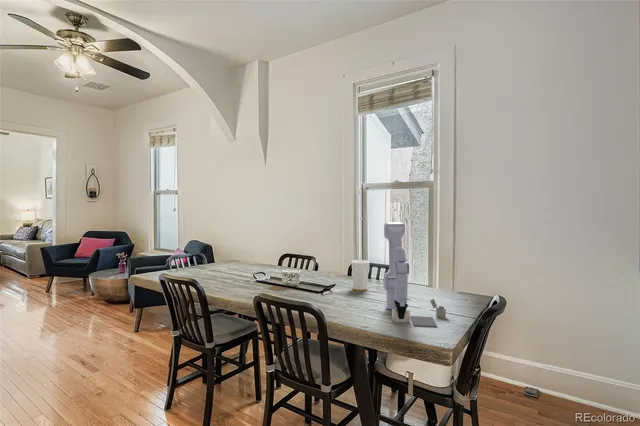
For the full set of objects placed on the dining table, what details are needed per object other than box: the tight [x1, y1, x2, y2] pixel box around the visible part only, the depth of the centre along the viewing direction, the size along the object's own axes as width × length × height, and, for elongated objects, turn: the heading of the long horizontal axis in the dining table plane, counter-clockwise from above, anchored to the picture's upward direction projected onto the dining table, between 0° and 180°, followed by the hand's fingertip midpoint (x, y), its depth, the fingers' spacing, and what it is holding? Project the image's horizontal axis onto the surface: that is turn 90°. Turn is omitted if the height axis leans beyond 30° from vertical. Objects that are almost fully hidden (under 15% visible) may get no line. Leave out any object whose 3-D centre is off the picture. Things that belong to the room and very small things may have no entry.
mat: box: [410, 315, 438, 328], centre depth 158 cm, size 12×10×1 cm
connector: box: [391, 308, 411, 323], centre depth 159 cm, size 3×8×7 cm, turn 82°
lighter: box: [429, 298, 447, 319], centre depth 165 cm, size 7×2×8 cm, turn 56°
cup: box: [350, 259, 371, 292], centre depth 216 cm, size 11×11×17 cm
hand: (400, 317), depth 159 cm, fingers closed on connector, 3 cm apart
